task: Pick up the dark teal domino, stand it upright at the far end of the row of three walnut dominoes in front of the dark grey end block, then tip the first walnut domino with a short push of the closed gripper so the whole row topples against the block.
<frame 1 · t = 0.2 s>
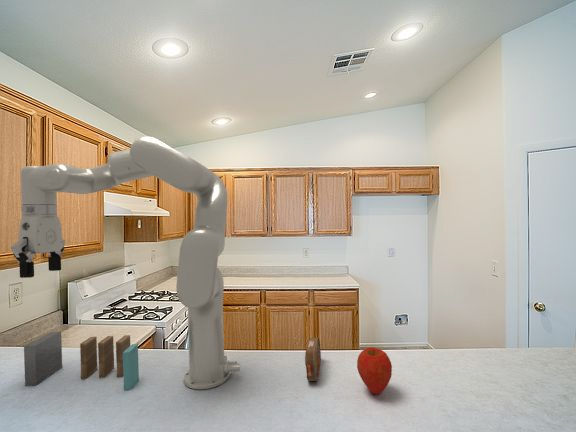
hand: (41, 273, 83), 31 cm above the counter, tool pointing down, fingers open, 9 cm apart
domino 1: (124, 372, 88), on the counter
domino 3: (89, 374, 88), on the counter
domino 2: (106, 373, 88), on the counter
tin: (313, 373, 85), on the counter
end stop: (44, 376, 88), on the counter
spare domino: (131, 384, 82), on the counter
apple: (375, 393, 75), on the counter
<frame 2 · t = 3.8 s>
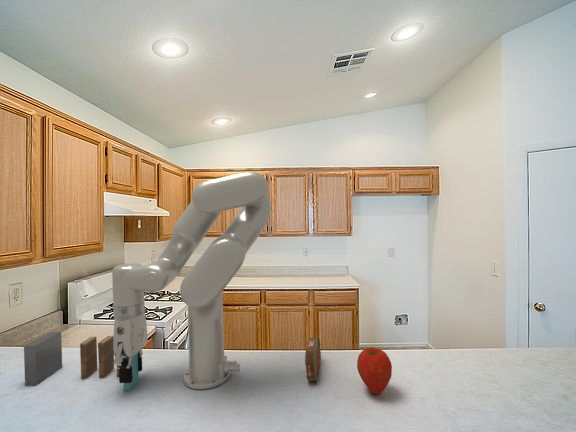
hand: (131, 375, 82), 2 cm above the counter, tool pointing down, fingers closed on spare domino, 4 cm apart
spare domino: (131, 384, 82), on the counter, touching gripper
everything else where it was.
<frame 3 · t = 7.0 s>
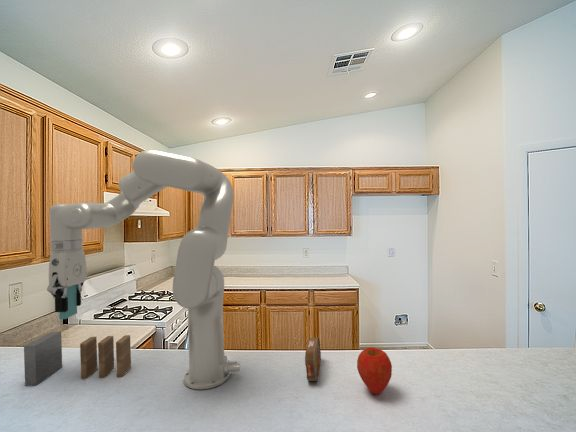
hand: (68, 307, 88), 20 cm above the counter, tool pointing down, fingers closed on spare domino, 4 cm apart
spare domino: (68, 316, 88), point 17 cm above the counter, touching gripper
everything else where it was.
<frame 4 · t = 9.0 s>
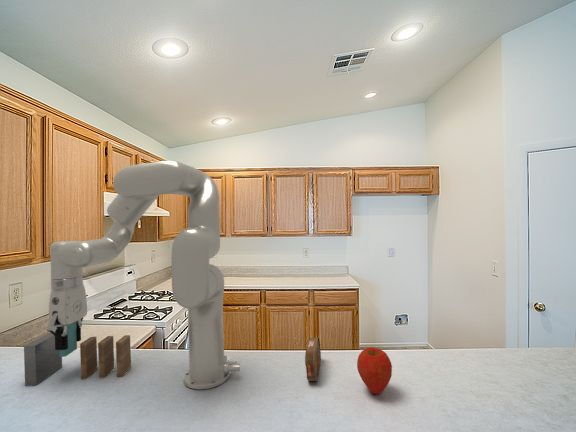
hand: (68, 344, 88), 9 cm above the counter, tool pointing down, fingers closed on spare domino, 4 cm apart
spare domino: (68, 352, 88), point 7 cm above the counter, touching gripper
everything else where it was.
when the fingers open (3 cm above the counter, at t = 10.5 s): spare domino stays where it is, on the counter.
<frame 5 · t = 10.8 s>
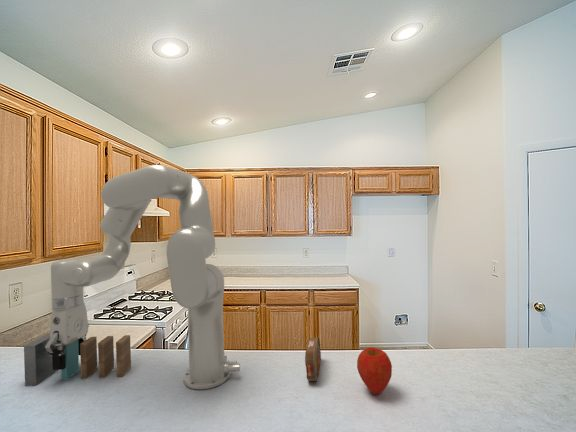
hand: (69, 361, 88), 4 cm above the counter, tool pointing down, fingers open, 8 cm apart
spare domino: (70, 374, 88), on the counter
everything else where it was.
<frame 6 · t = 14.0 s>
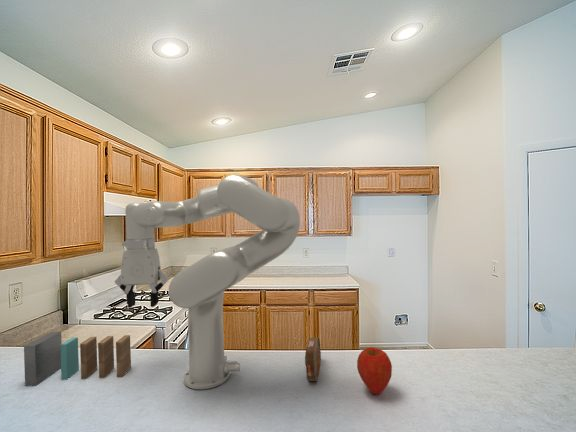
hand: (142, 305, 89), 20 cm above the counter, tool pointing down, fingers open, 5 cm apart
nothing on the counter moved.
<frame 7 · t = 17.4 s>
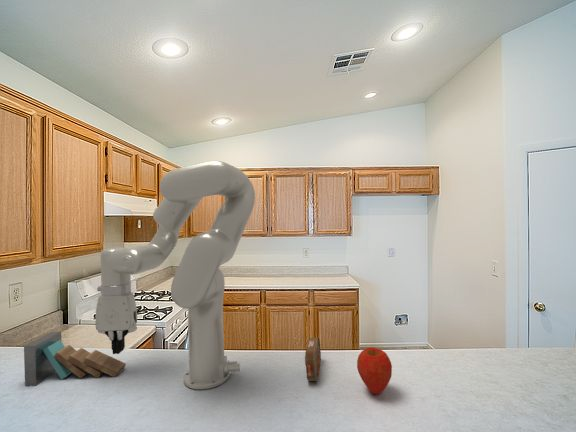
hand: (118, 351, 88), 6 cm above the counter, tool pointing down, fingers closed
domino 1: (120, 370, 88), point 1 cm above the counter, tilted 63°, touching domino 2
domino 3: (88, 372, 88), point 1 cm above the counter, tilted 48°, touching domino 2, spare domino
domino 2: (104, 371, 88), point 1 cm above the counter, tilted 57°, touching domino 1, domino 3
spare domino: (70, 373, 88), on the counter, tilted 30°, touching domino 3, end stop
everything else where it was.
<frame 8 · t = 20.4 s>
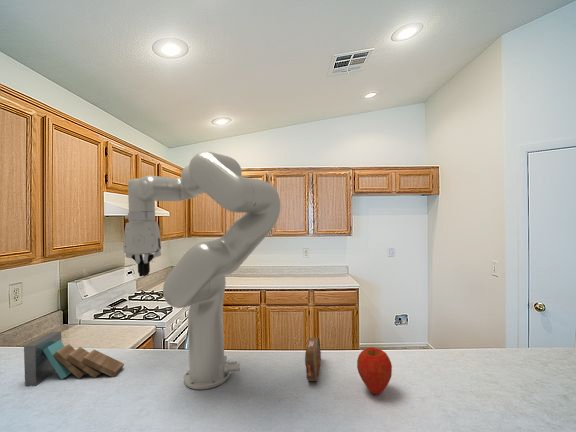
hand: (144, 275, 96), 27 cm above the counter, tool pointing down, fingers closed
at the end: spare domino tilted 30°; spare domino touching domino 3, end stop, counter; domino 3 tilted 46° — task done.
